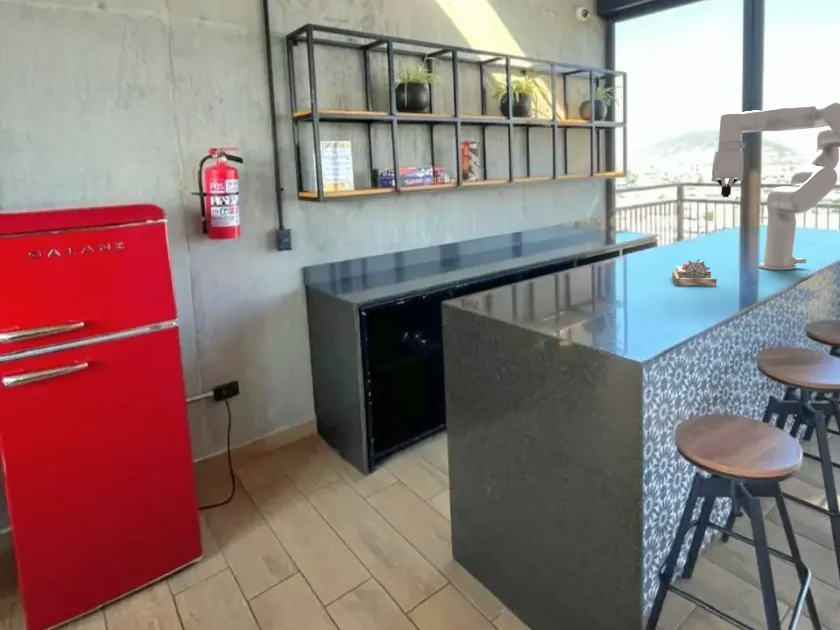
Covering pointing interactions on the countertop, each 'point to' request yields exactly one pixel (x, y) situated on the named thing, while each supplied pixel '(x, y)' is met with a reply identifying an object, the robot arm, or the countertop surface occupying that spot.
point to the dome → (685, 266)
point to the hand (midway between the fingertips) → (725, 196)
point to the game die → (696, 270)
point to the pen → (693, 279)
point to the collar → (679, 268)
